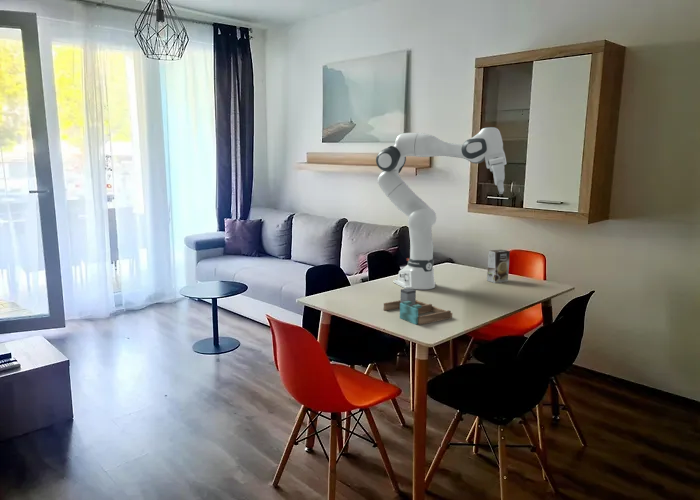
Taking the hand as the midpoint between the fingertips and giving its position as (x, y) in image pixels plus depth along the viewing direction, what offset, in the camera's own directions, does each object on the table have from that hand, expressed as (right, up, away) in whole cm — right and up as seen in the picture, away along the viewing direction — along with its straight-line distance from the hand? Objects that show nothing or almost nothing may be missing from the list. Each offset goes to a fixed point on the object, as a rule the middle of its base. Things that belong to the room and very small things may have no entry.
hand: (501, 192), depth 233 cm
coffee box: (+9, -42, +38) cm, 57 cm away
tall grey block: (-44, -51, -16) cm, 69 cm away
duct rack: (-41, -52, -21) cm, 69 cm away
